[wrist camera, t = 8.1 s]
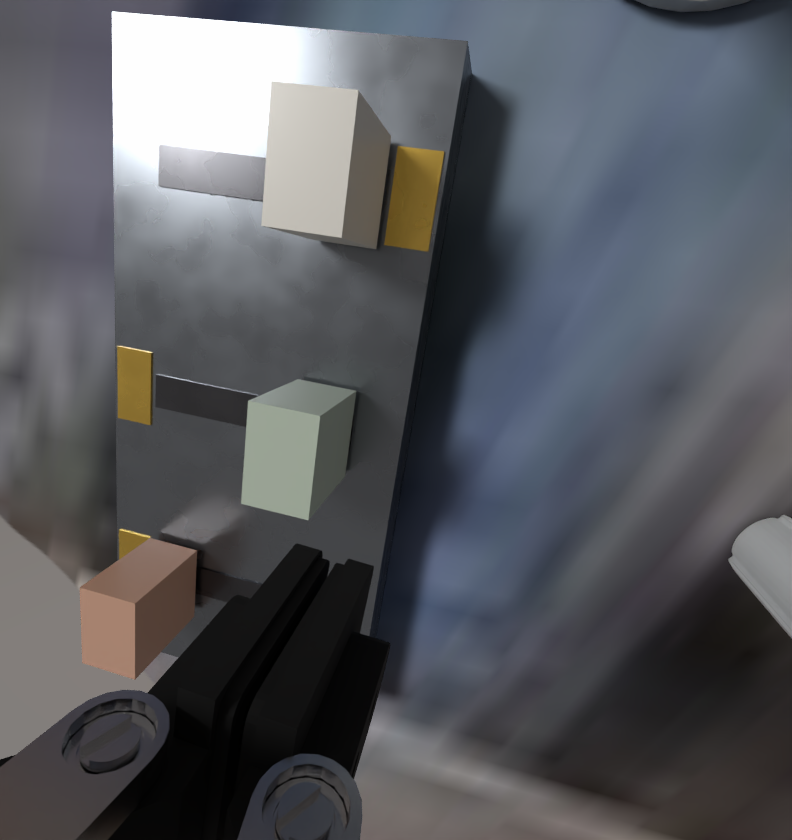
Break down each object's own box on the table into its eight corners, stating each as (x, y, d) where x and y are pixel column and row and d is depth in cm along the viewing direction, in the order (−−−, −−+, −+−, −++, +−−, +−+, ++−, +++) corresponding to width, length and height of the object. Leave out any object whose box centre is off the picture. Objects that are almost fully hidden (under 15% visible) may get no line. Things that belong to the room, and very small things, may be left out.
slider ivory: (391, 136, 20) (358, 90, 16) (376, 249, 22) (341, 237, 17) (323, 128, 21) (271, 81, 16) (312, 239, 22) (261, 225, 17)
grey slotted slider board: (471, 73, 22) (467, 39, 19) (369, 674, 32) (356, 712, 29) (156, 43, 25) (110, 10, 22) (150, 610, 34) (117, 639, 31)
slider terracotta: (197, 550, 28) (134, 603, 23) (194, 616, 29) (134, 679, 24) (150, 537, 28) (79, 587, 24) (149, 603, 30) (82, 663, 25)
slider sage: (356, 390, 24) (320, 415, 19) (345, 476, 25) (308, 520, 20) (297, 379, 24) (248, 400, 19) (289, 463, 25) (241, 503, 21)
